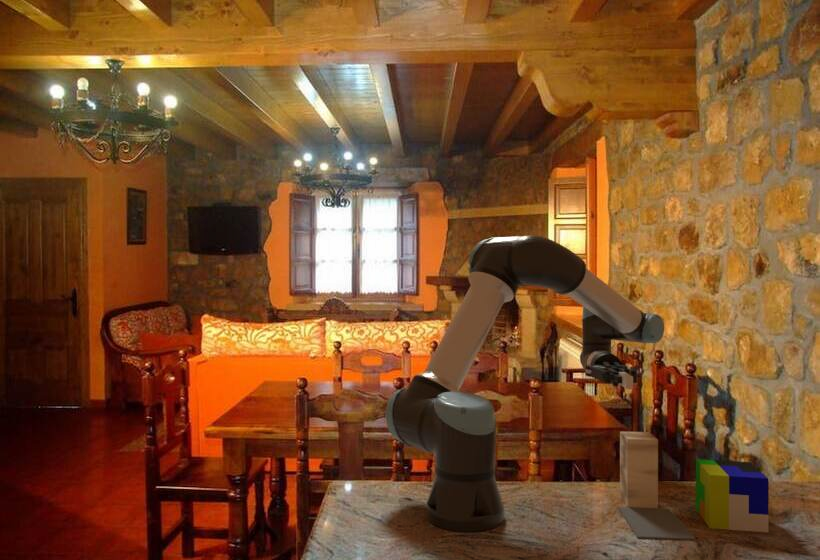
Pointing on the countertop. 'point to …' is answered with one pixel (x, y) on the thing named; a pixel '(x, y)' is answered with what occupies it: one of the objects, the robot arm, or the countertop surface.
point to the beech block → (639, 469)
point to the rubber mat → (655, 523)
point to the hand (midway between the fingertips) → (629, 382)
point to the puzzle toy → (732, 495)
